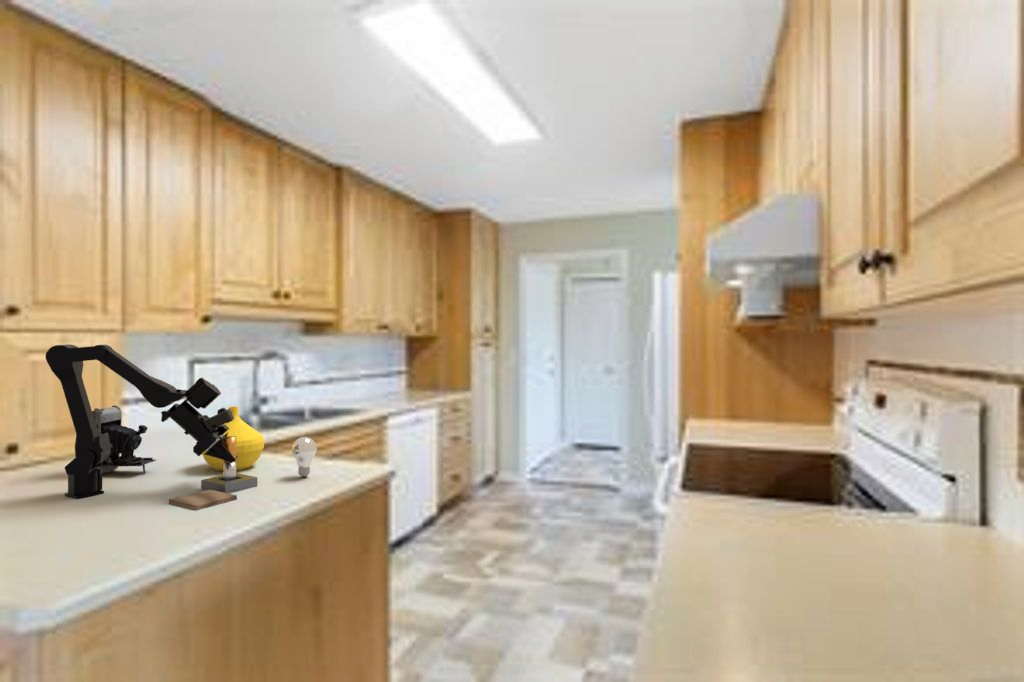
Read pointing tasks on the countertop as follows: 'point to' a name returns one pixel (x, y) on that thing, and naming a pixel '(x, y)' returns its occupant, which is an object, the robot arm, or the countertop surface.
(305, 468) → the light bulb
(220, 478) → the chuck block
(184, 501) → the walnut pad
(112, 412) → the vintage camera
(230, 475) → the orange and silver cylinder
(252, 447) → the vase
